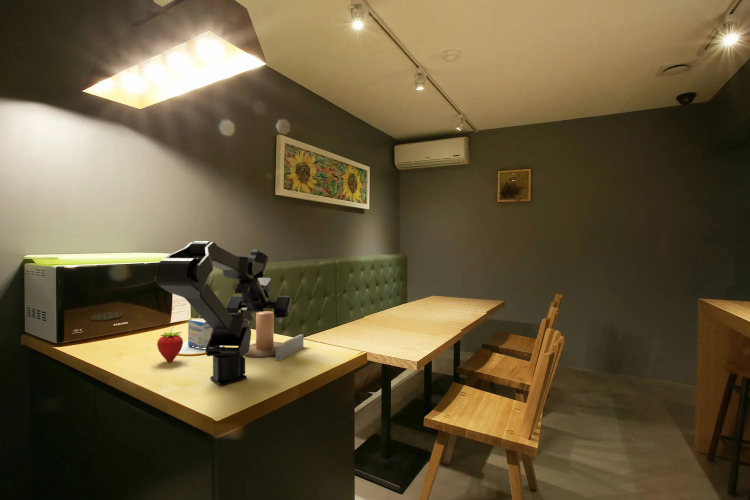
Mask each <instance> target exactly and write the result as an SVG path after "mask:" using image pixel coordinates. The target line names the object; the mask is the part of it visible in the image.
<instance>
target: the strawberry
mask: <svg viewBox="0 0 750 500" xmlns="http://www.w3.org/2000/svg"><path fill="white" fill-rule="evenodd" d="M173 328H174V326H172V328H171V330H170V332H163V334H160V337H159V339H157V343H156V346H157V350H158V352H159V353H160V354H161V357H163V358H164V359H165V361H166V362H167V363H169V364H171V363H172V362H173V361H174V360H175V359H176V358H177V356H178V355H179V353H180V352H181V350H182V348H183V345H184V340H183V337H182V336H181V335H180V334H181V333H183V332H181V331H179V332H177V331H176V332H174V333H173V332H172V330H173Z"/></svg>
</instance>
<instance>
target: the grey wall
mask: <svg viewBox="0 0 750 500" xmlns="http://www.w3.org/2000/svg"><path fill="white" fill-rule="evenodd" d="M303 348H304V334H298V335H296V336H294V337H292V338H290V339H287V340H285V341H284V342H281V344H279V345H277V346H276V356H275V361H282V360H283V359H285V358H287V357H289V356H291V355H292V354H294V353H296V352H298V351H299V350H301V349H303Z"/></svg>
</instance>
